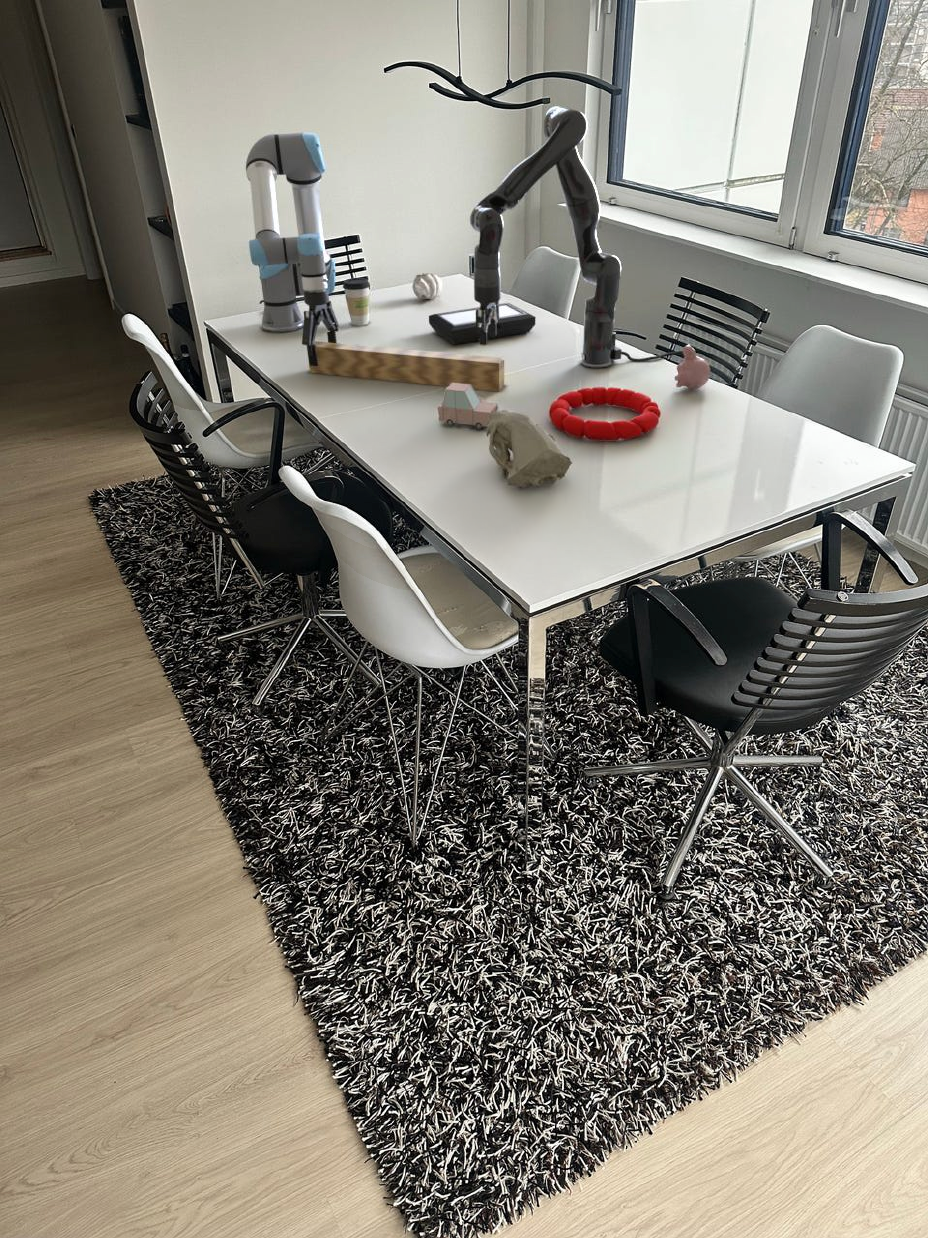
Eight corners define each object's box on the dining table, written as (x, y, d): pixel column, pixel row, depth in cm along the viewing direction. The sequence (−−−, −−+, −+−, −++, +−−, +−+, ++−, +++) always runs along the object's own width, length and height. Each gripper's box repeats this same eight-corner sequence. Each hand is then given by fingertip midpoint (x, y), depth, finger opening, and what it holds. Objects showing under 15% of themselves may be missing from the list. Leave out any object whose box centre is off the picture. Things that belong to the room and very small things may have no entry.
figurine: (665, 387, 264) (669, 347, 257) (693, 380, 268) (698, 340, 261) (686, 396, 257) (690, 355, 250) (714, 388, 262) (720, 348, 255)
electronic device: (451, 328, 298) (428, 313, 313) (451, 346, 301) (429, 331, 316) (535, 314, 308) (509, 300, 323) (535, 332, 311) (509, 318, 326)
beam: (310, 372, 284) (306, 345, 279) (317, 367, 288) (314, 341, 283) (499, 391, 266) (499, 363, 261) (504, 385, 269) (504, 357, 265)
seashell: (406, 298, 352) (404, 272, 346) (439, 293, 358) (438, 267, 352) (417, 304, 345) (416, 278, 339) (451, 298, 350) (450, 272, 345)
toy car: (488, 432, 240) (488, 396, 234) (436, 426, 244) (434, 390, 239) (499, 419, 247) (499, 384, 241) (448, 413, 252) (447, 379, 246)
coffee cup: (372, 326, 323) (368, 283, 314) (345, 327, 323) (340, 284, 315) (374, 318, 331) (371, 276, 322) (348, 319, 331) (344, 277, 323)
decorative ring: (589, 435, 224) (684, 402, 234) (527, 398, 247) (617, 369, 256) (589, 461, 229) (683, 427, 238) (529, 422, 251) (617, 393, 260)
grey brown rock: (496, 517, 219) (521, 479, 201) (463, 429, 225) (484, 384, 207) (557, 503, 225) (586, 465, 206) (523, 417, 231) (549, 373, 212)
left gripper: (306, 300, 260) (315, 372, 272) (344, 280, 279) (351, 348, 291) (284, 299, 262) (294, 370, 274) (323, 279, 281) (331, 346, 293)
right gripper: (491, 290, 245) (492, 348, 254) (507, 277, 256) (507, 334, 265) (466, 288, 247) (467, 346, 256) (482, 275, 258) (483, 332, 267)
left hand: (323, 358), depth 282 cm, fingers open, 13 cm apart
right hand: (488, 340), depth 261 cm, fingers open, 8 cm apart
